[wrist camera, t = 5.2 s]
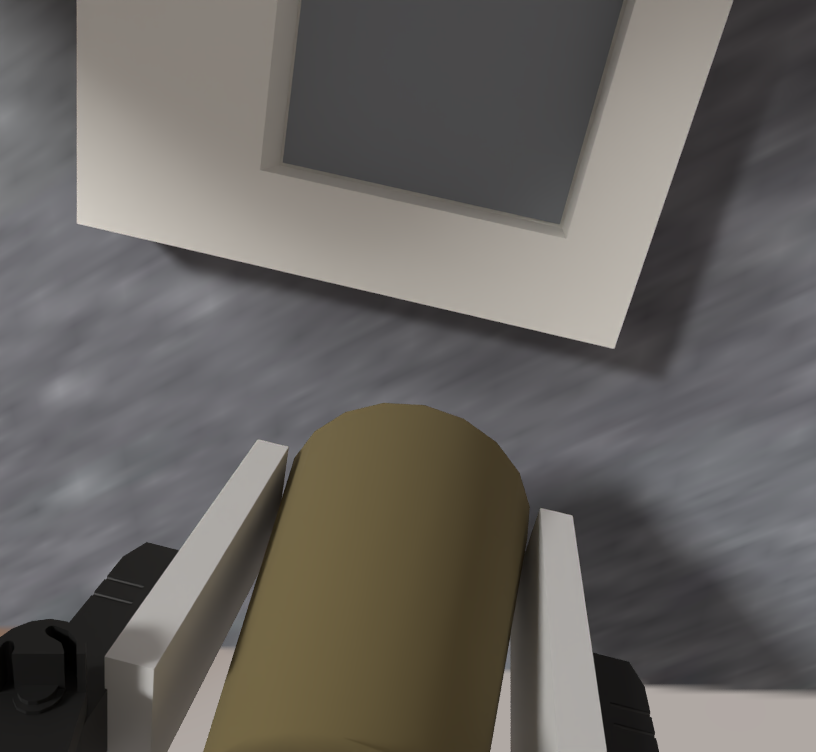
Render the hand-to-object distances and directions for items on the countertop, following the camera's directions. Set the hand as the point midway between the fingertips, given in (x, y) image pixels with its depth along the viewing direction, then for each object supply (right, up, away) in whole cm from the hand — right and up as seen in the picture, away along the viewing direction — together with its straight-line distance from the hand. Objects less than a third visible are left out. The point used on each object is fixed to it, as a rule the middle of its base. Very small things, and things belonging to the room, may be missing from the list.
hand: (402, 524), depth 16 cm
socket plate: (0, +13, +2) cm, 13 cm away
